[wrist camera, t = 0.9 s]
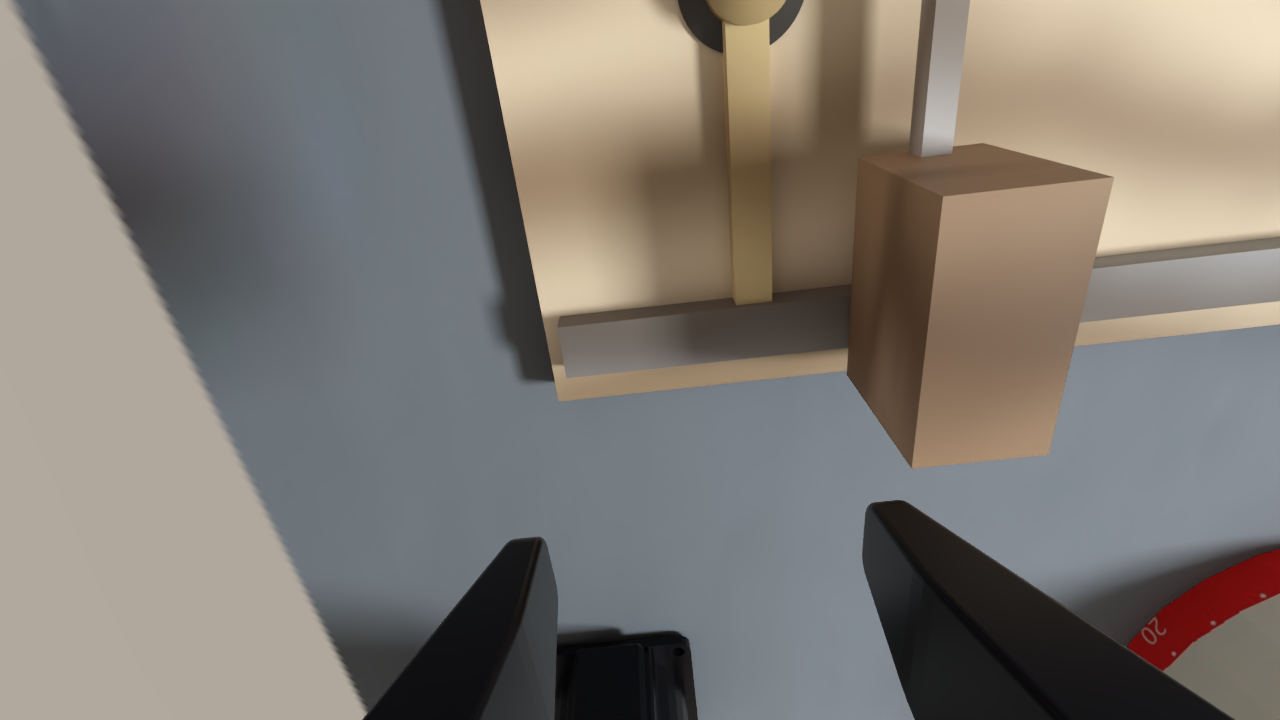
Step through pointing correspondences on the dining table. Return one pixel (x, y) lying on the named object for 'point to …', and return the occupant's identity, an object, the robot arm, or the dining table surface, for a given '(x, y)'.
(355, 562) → the dining table surface
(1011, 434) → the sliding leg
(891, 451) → the dining table surface
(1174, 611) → the white dome
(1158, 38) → the gauge board
